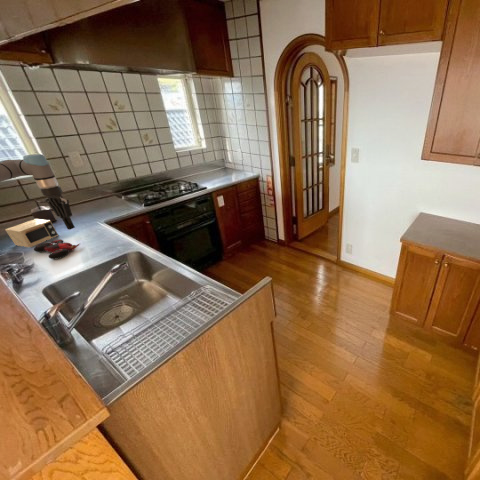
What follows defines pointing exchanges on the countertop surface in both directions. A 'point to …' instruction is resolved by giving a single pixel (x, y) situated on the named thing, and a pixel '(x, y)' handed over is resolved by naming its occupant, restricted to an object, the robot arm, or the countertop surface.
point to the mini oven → (32, 232)
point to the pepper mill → (43, 212)
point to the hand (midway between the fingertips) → (71, 228)
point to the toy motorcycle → (55, 248)
